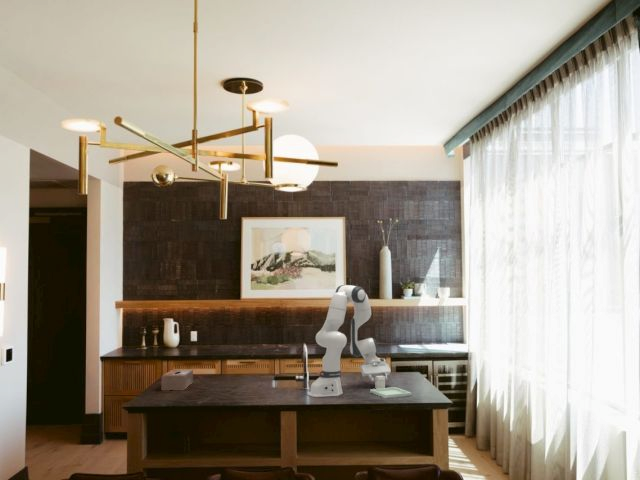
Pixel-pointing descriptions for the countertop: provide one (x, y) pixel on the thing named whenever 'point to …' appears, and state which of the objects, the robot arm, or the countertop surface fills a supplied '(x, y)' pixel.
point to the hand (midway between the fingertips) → (379, 380)
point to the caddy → (379, 382)
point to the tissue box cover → (177, 380)
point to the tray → (390, 392)
